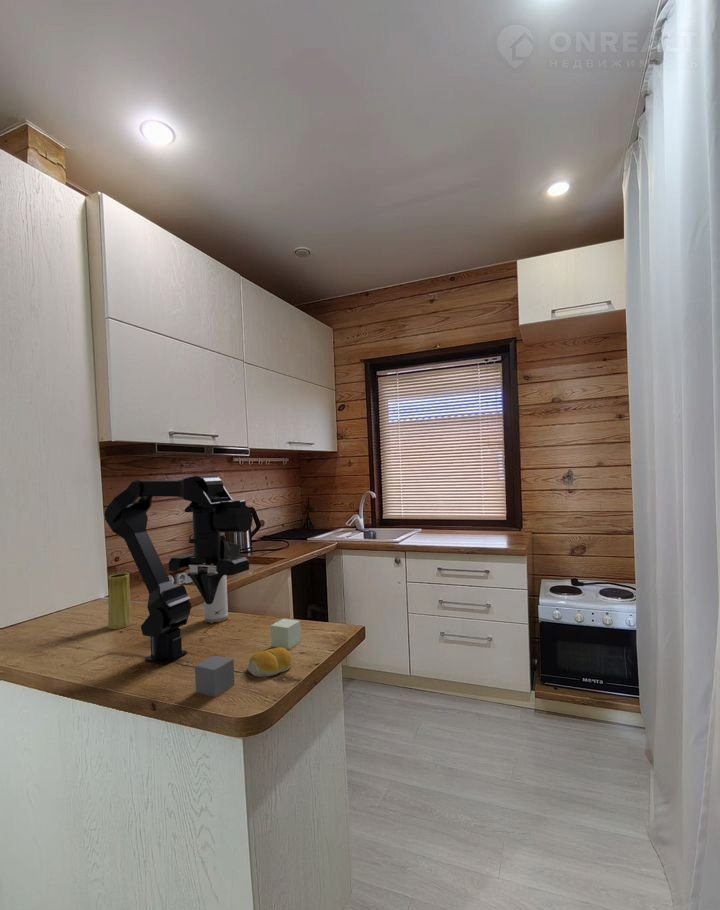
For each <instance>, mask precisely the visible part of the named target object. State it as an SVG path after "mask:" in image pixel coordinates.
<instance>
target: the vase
mask: <svg viewBox="0 0 720 910" xmlns="http://www.w3.org/2000/svg"><path fill="white" fill-rule="evenodd" d="M107 579H108V612H107V613H108V616H107V617H108V618H107V619H108V622H107V628H108V629H109V630H121V629H124V627H125V628H127V626H128V627H130V626H131V625H133V619H132V618H133V617H132V605H131V592H130V591H131V590H130V587H131V586H130V581H131V580H130V573H128V572H122V573H121V572H120V573H115V574H114V573H113V574H112V575H109V576H108V578H107Z"/></svg>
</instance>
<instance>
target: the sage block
mask: <svg viewBox="0 0 720 910" xmlns="http://www.w3.org/2000/svg"><path fill="white" fill-rule="evenodd" d="M301 629H302V628H301V620H297V619H290V618H282V619H280V620H278V621H276V622H275V623H273V624H271V625H270V633H271V634H270V637H271V640H270V641H271V647H272V648H278V647H282V648H285V649H286V650H290V649H292V648H293V647H295V646H296V645H298V644H299V643H301V642H302V631H301Z"/></svg>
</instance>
